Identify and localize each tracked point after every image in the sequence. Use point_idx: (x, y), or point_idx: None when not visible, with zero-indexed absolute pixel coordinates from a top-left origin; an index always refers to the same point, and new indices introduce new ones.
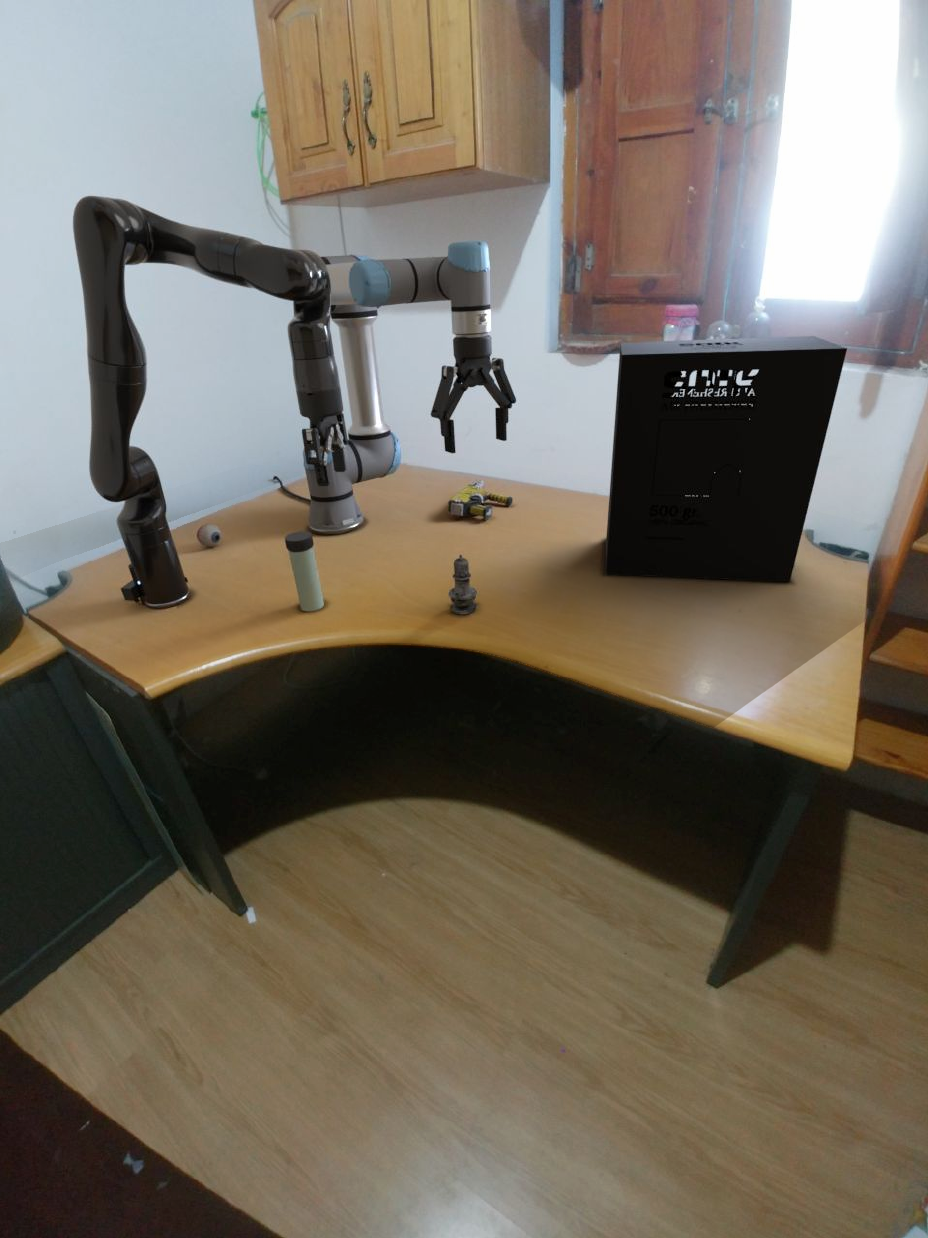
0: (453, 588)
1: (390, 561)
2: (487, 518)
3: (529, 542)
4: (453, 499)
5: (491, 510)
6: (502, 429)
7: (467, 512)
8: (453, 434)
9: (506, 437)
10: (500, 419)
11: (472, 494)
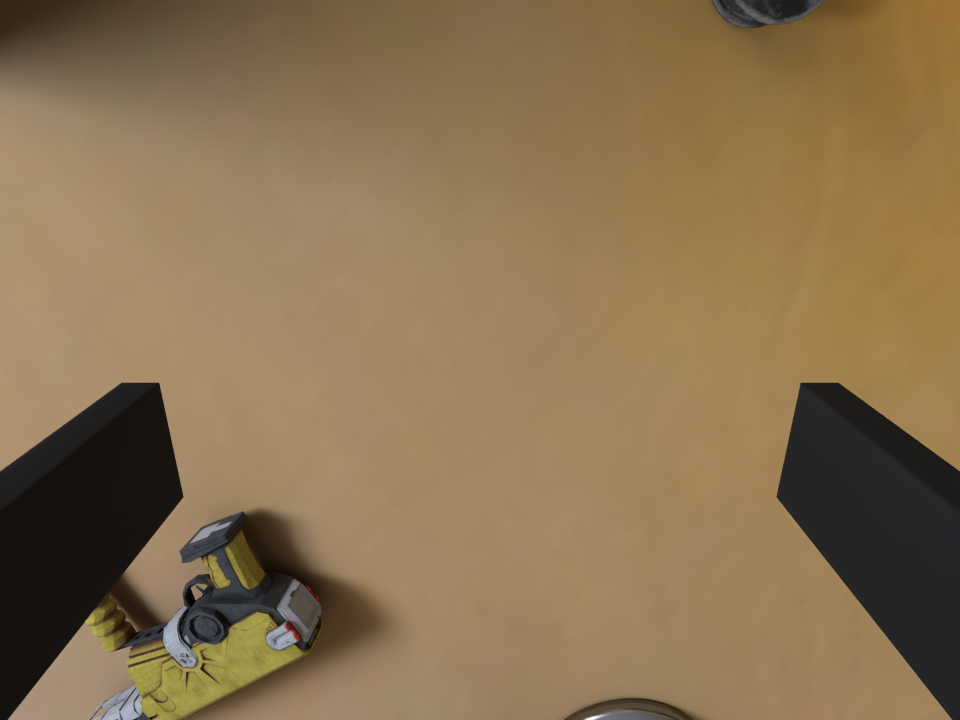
0: (787, 17)
1: (675, 459)
2: (229, 516)
3: (212, 269)
4: (290, 651)
5: (194, 538)
6: (94, 463)
7: (272, 580)
8: (948, 485)
9: (106, 395)
10: (21, 574)
11: (195, 656)
